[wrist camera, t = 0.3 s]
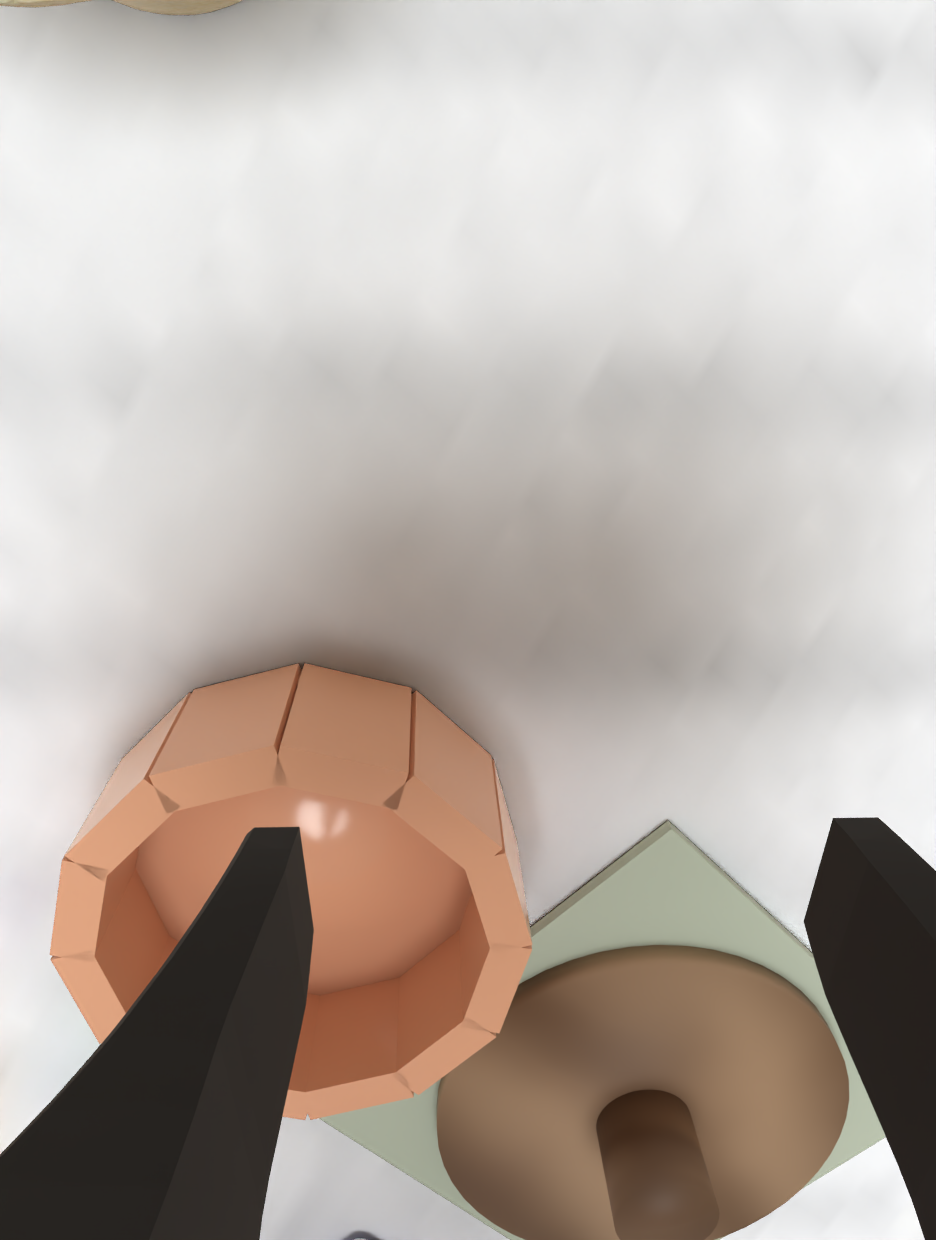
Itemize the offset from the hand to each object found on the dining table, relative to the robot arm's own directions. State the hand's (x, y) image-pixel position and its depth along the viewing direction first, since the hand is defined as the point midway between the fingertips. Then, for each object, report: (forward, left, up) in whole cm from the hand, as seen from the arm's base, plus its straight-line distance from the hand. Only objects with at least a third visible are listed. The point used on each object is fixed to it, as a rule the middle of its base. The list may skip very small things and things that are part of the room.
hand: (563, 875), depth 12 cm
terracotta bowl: (-9, -2, -11) cm, 14 cm away
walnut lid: (-9, -16, -10) cm, 21 cm away
